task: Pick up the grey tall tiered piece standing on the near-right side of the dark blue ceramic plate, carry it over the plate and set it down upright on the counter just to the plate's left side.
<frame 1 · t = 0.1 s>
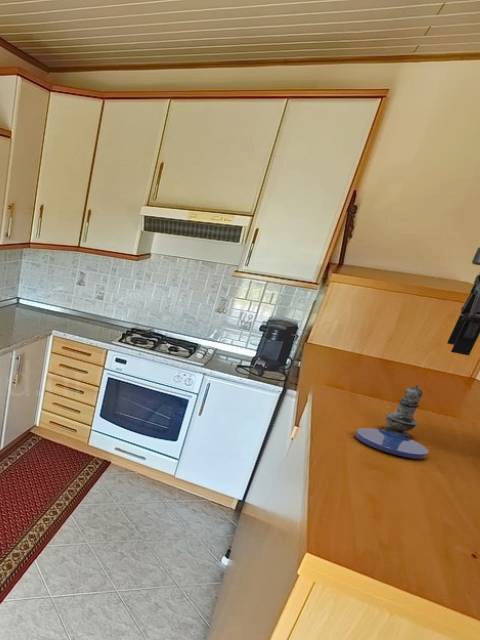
hand: (457, 349, 105), 21 cm above the worktop, tool pointing down, fingers open, 13 cm apart
plate: (388, 446, 103), on the worktop
grey tall tiered piece: (395, 433, 112), on the worktop
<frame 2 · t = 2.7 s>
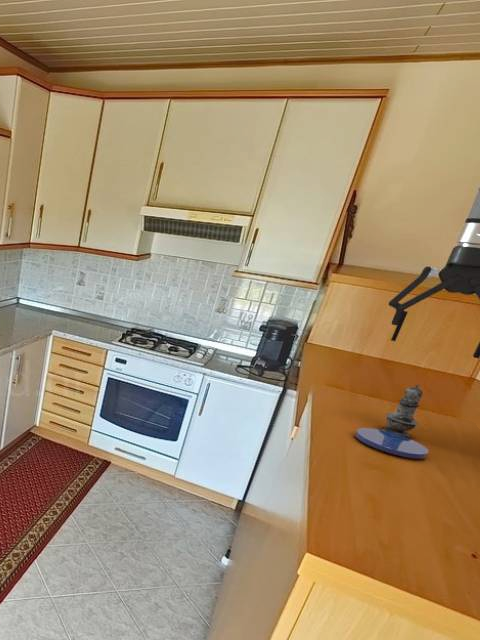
hand: (432, 348, 105), 20 cm above the worktop, tool pointing down, fingers open, 13 cm apart
nothing on the worktop moved.
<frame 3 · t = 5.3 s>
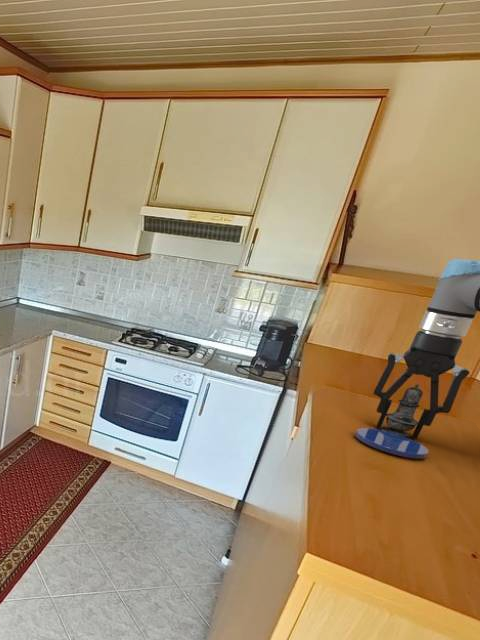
hand: (396, 431, 112), 0 cm above the worktop, tool pointing down, fingers closed on grey tall tiered piece, 6 cm apart
grey tall tiered piece: (395, 433, 112), on the worktop, touching gripper
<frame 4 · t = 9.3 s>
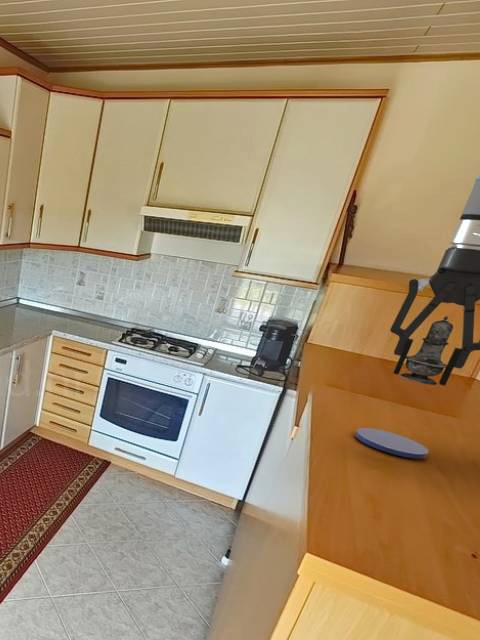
hand: (418, 377, 90), 18 cm above the worktop, tool pointing down, fingers closed on grey tall tiered piece, 6 cm apart
grey tall tiered piece: (417, 380, 90), point 17 cm above the worktop, touching gripper
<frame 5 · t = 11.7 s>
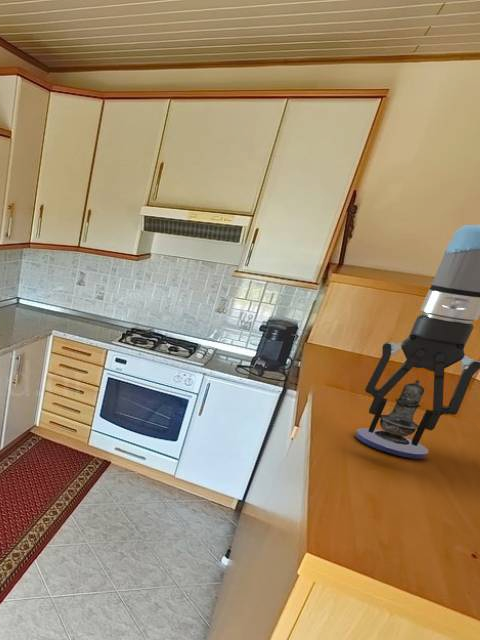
hand: (392, 436, 93), 6 cm above the worktop, tool pointing down, fingers closed on grey tall tiered piece, 6 cm apart
grey tall tiered piece: (391, 439, 93), point 5 cm above the worktop, touching gripper
when the fingers open (0 cm above the worktop, at t = 13.4 s): grey tall tiered piece stays where it is, on the worktop.
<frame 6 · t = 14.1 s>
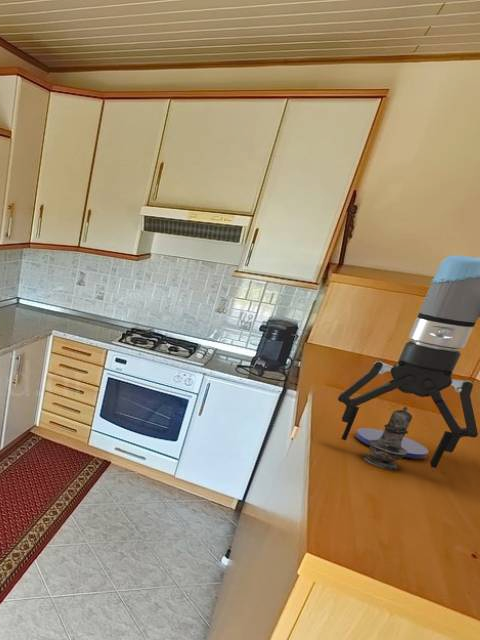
hand: (386, 451, 94), 3 cm above the worktop, tool pointing down, fingers open, 13 cm apart
grey tall tiered piece: (380, 463, 95), on the worktop
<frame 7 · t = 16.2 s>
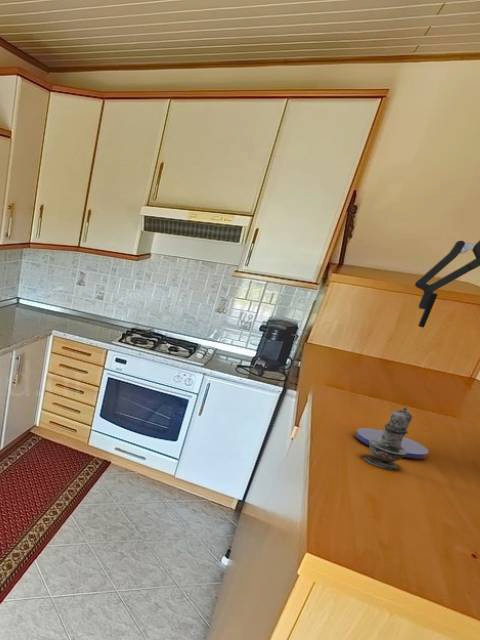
hand: (467, 334, 92), 26 cm above the worktop, tool pointing down, fingers open, 13 cm apart
nothing on the worktop moved.
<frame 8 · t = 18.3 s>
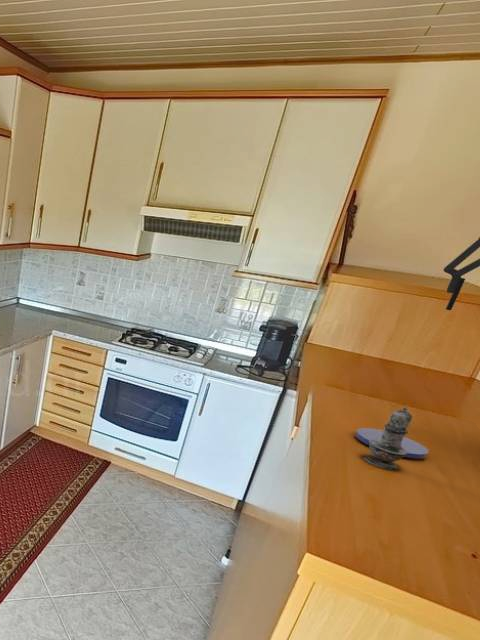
nothing on the worktop moved.
at the end: grey tall tiered piece inside the target area on the worktop beside the plate (0.3 cm from its centre), on the worktop; grey tall tiered piece tilted 0°; the gripper is holding nothing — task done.
